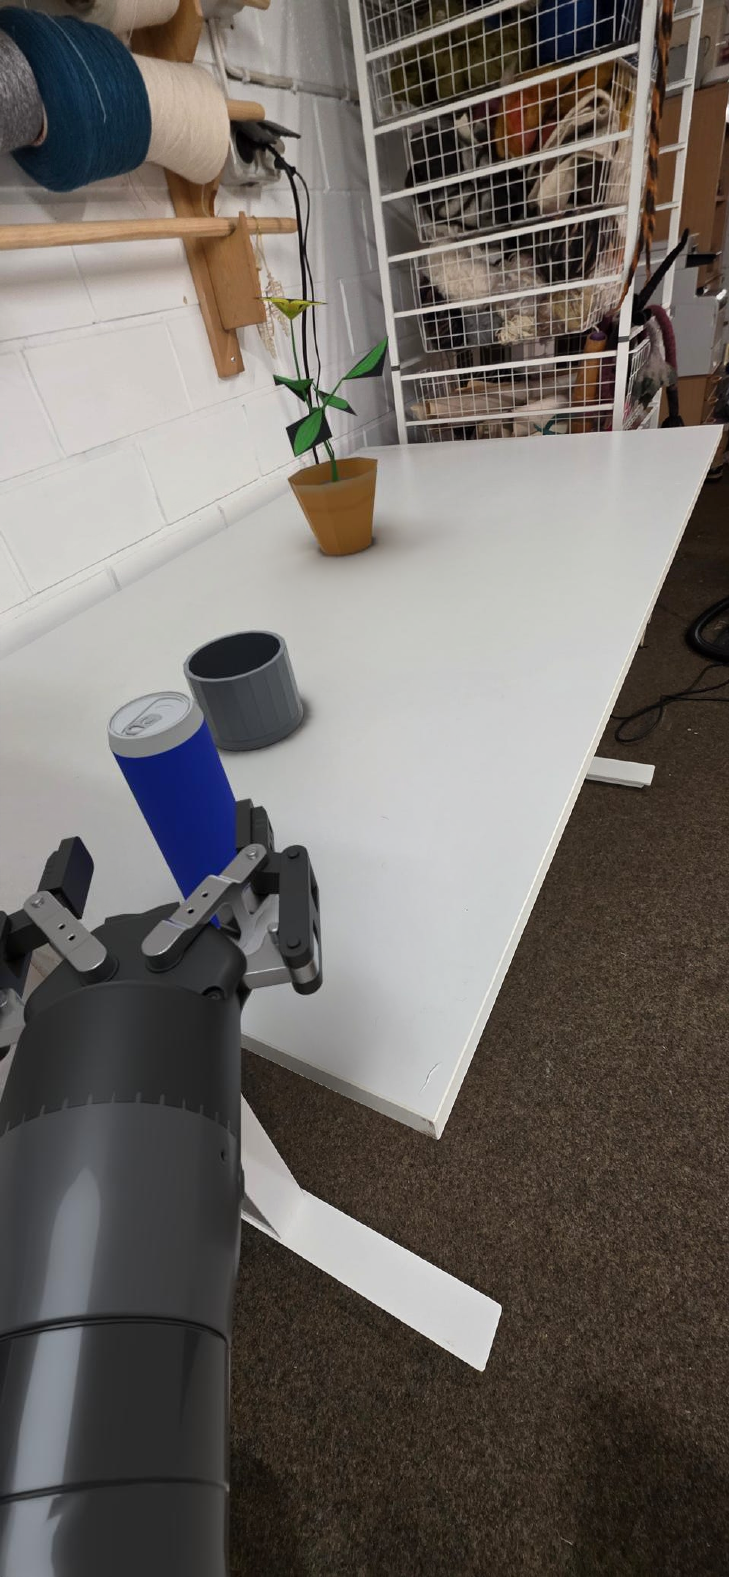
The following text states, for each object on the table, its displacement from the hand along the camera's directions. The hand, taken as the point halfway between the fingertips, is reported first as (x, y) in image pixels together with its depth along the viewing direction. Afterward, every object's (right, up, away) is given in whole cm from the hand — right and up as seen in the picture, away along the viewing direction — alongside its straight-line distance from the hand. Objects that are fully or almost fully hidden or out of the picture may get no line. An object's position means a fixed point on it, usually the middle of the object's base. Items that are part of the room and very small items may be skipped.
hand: (163, 831), depth 33 cm
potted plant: (+8, +37, +63) cm, 73 cm away
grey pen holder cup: (0, +8, +29) cm, 30 cm away
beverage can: (+1, -6, +12) cm, 13 cm away
